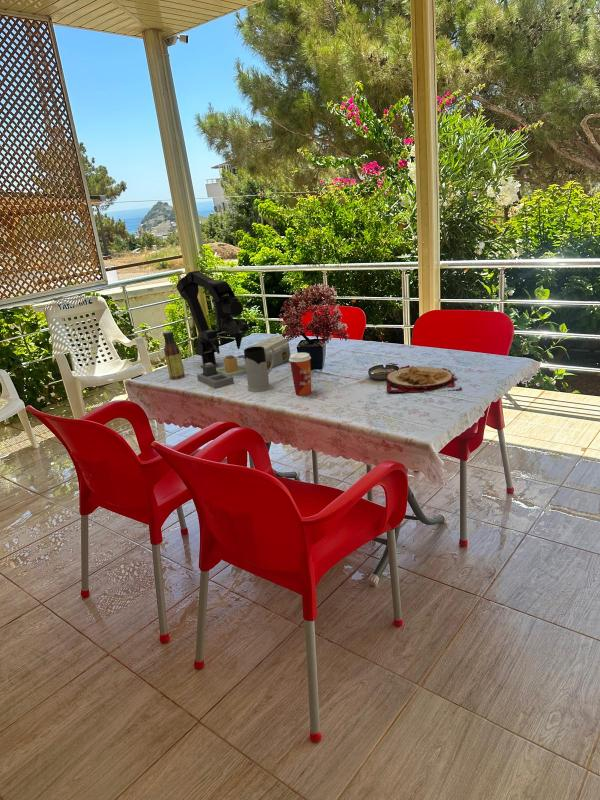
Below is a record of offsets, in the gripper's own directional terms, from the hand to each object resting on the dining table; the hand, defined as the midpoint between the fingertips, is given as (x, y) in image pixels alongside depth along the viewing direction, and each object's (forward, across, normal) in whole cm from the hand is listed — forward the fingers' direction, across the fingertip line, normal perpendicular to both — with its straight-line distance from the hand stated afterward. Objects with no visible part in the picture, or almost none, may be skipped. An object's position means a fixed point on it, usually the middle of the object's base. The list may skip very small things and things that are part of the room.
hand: (228, 351), depth 226 cm
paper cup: (+9, +5, -45) cm, 46 cm away
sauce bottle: (+10, -19, +13) cm, 25 cm away
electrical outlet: (+10, +16, -3) cm, 19 cm away
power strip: (+9, -11, -7) cm, 16 cm away
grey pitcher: (+9, 0, -26) cm, 28 cm away
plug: (+9, 0, 0) cm, 9 cm away
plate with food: (+10, +41, -67) cm, 79 cm away
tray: (+9, 0, 0) cm, 9 cm away
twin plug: (+9, -11, -3) cm, 14 cm away
